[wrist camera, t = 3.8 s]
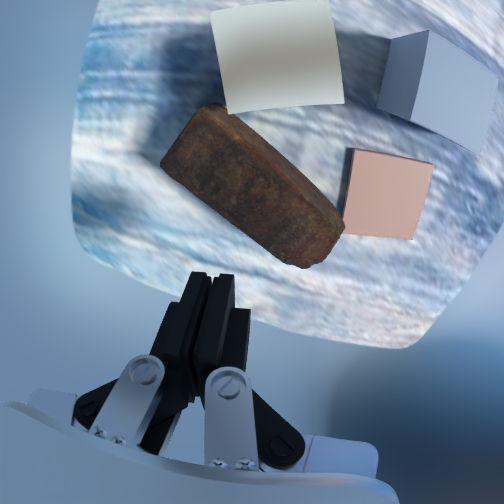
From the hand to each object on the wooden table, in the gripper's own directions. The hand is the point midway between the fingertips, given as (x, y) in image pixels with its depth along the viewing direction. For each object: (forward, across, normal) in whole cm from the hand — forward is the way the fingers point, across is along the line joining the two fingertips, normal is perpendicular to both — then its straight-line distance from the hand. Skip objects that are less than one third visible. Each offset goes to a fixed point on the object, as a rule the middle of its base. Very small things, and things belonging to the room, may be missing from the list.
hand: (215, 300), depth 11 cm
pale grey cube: (+9, -2, -10) cm, 13 cm away
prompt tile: (+9, -10, -2) cm, 14 cm away
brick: (+9, -1, -2) cm, 10 cm away
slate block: (+9, -11, -10) cm, 17 cm away
